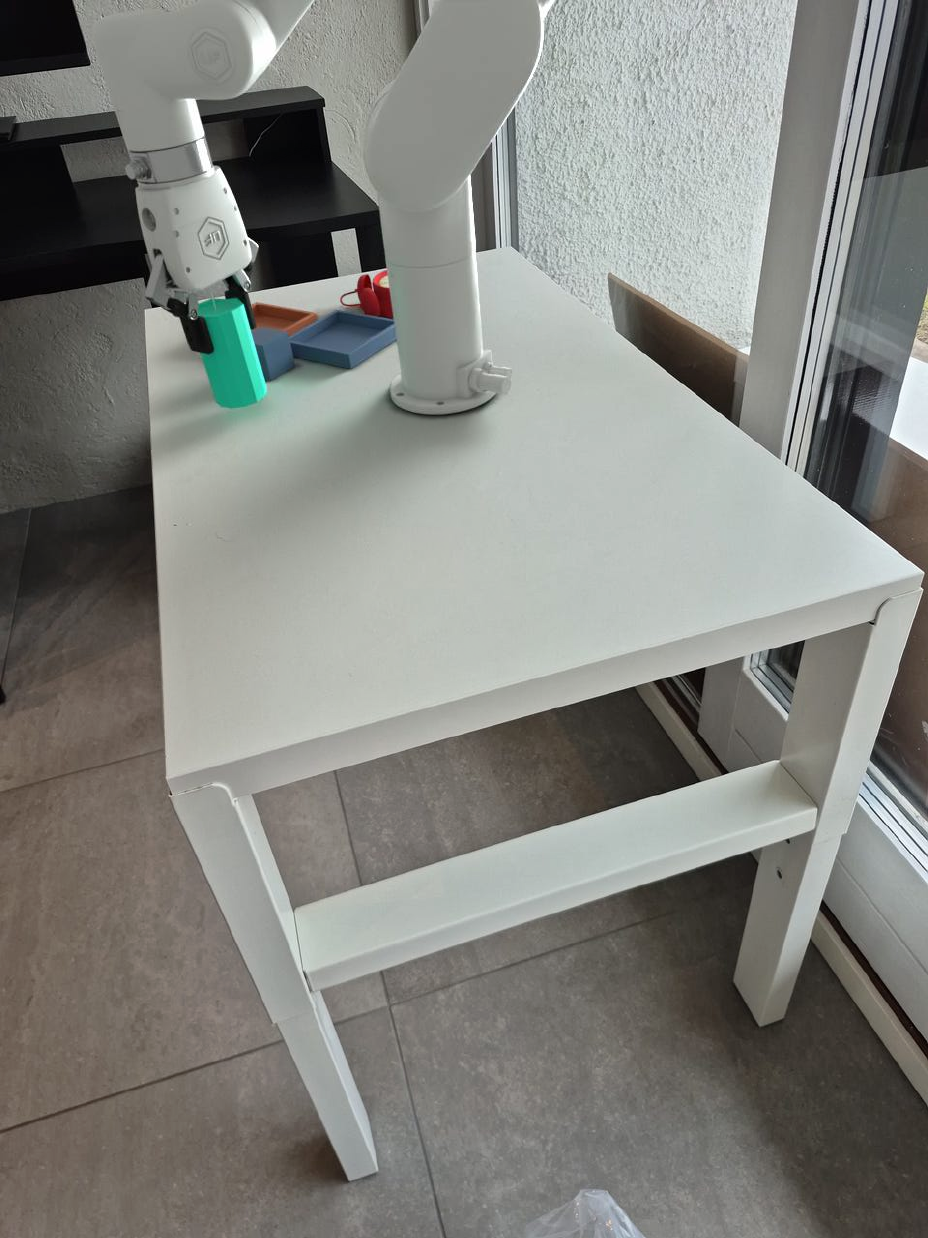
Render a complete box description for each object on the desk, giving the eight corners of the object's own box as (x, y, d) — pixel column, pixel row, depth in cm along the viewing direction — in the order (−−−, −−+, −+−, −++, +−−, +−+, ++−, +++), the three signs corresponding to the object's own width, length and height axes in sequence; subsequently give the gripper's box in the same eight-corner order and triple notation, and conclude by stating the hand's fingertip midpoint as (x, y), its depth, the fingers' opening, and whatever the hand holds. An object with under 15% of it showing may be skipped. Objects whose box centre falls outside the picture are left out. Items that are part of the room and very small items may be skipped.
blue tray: (404, 334, 118) (402, 320, 117) (351, 369, 111) (348, 354, 110) (338, 322, 123) (336, 309, 122) (284, 354, 117) (280, 340, 115)
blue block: (295, 366, 114) (287, 331, 111) (270, 380, 111) (262, 345, 108) (269, 360, 116) (260, 326, 113) (244, 374, 113) (235, 340, 110)
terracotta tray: (319, 326, 123) (316, 312, 122) (263, 358, 116) (259, 344, 115) (259, 315, 128) (256, 301, 127) (202, 345, 121) (198, 331, 120)
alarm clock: (458, 284, 120) (345, 276, 117) (452, 330, 124) (343, 323, 121) (444, 260, 128) (338, 251, 125) (439, 304, 132) (336, 297, 128)
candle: (255, 408, 101) (225, 302, 94) (207, 408, 103) (173, 304, 95) (274, 383, 106) (247, 281, 98) (228, 384, 107) (197, 283, 99)
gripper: (129, 190, 81) (191, 377, 93) (260, 139, 92) (300, 313, 103) (77, 186, 85) (143, 366, 96) (208, 138, 95) (253, 306, 107)
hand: (224, 337), depth 100 cm, fingers closed on candle, 6 cm apart
